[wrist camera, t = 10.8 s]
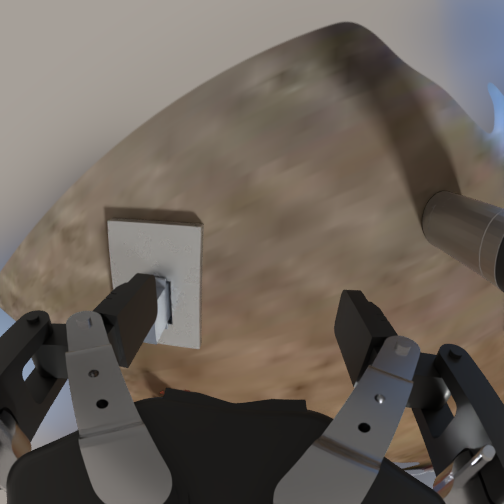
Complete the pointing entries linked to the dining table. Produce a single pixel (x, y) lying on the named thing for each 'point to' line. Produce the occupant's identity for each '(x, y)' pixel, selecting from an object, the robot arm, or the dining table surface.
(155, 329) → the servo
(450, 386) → the robot arm
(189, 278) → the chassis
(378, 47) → the dining table surface
